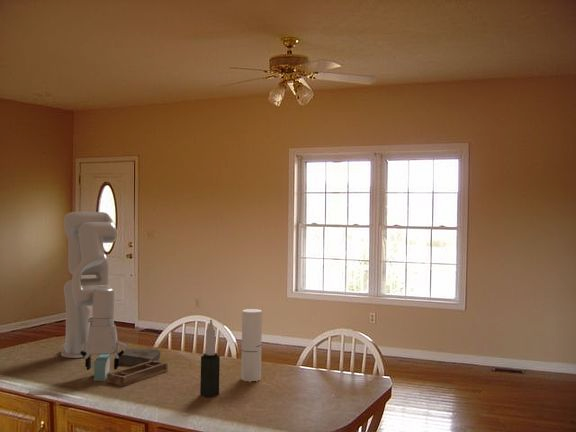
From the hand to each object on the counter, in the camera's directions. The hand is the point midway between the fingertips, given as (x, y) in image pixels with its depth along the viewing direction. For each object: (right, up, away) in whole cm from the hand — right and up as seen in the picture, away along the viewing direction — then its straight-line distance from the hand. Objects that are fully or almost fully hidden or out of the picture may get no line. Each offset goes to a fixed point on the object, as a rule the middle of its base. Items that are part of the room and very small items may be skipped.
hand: (102, 368), depth 206 cm
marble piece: (+8, -3, +21) cm, 23 cm away
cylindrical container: (+54, -4, +1) cm, 54 cm away
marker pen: (+42, -4, -18) cm, 45 cm away
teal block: (0, -3, 0) cm, 3 cm away
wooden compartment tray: (+13, -3, +1) cm, 13 cm away
